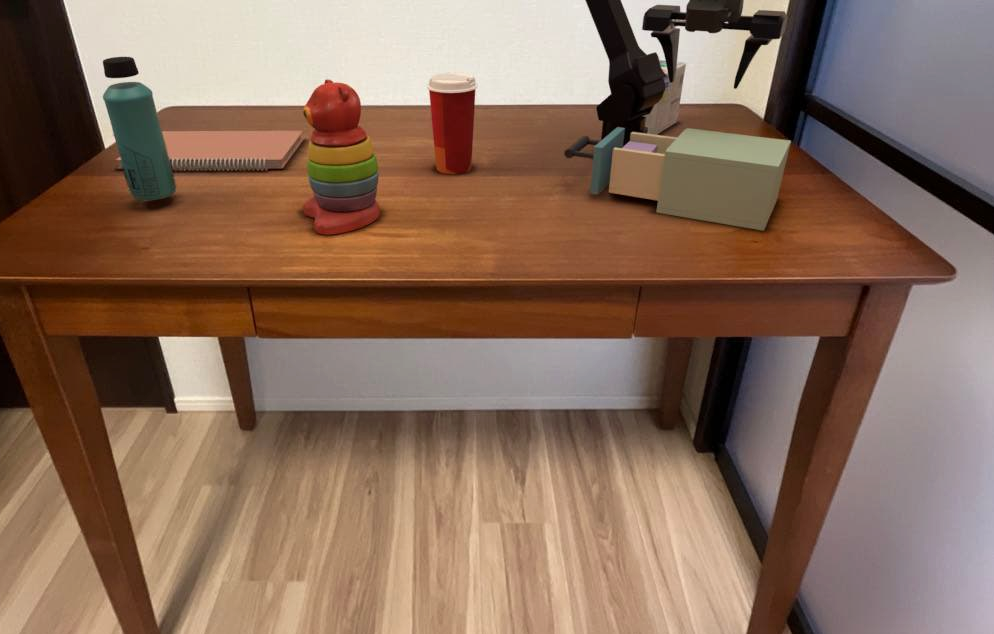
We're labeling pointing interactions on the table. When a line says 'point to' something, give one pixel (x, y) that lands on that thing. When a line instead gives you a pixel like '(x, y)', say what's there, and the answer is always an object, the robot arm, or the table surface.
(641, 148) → the mauve rounded cube
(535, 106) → the table surface
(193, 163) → the notebook
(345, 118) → the stacking bear
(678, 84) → the light bulb box
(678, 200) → the green drawer cabinet
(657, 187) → the drawer
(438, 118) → the paper cup
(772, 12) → the robot arm
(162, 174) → the beverage bottle
